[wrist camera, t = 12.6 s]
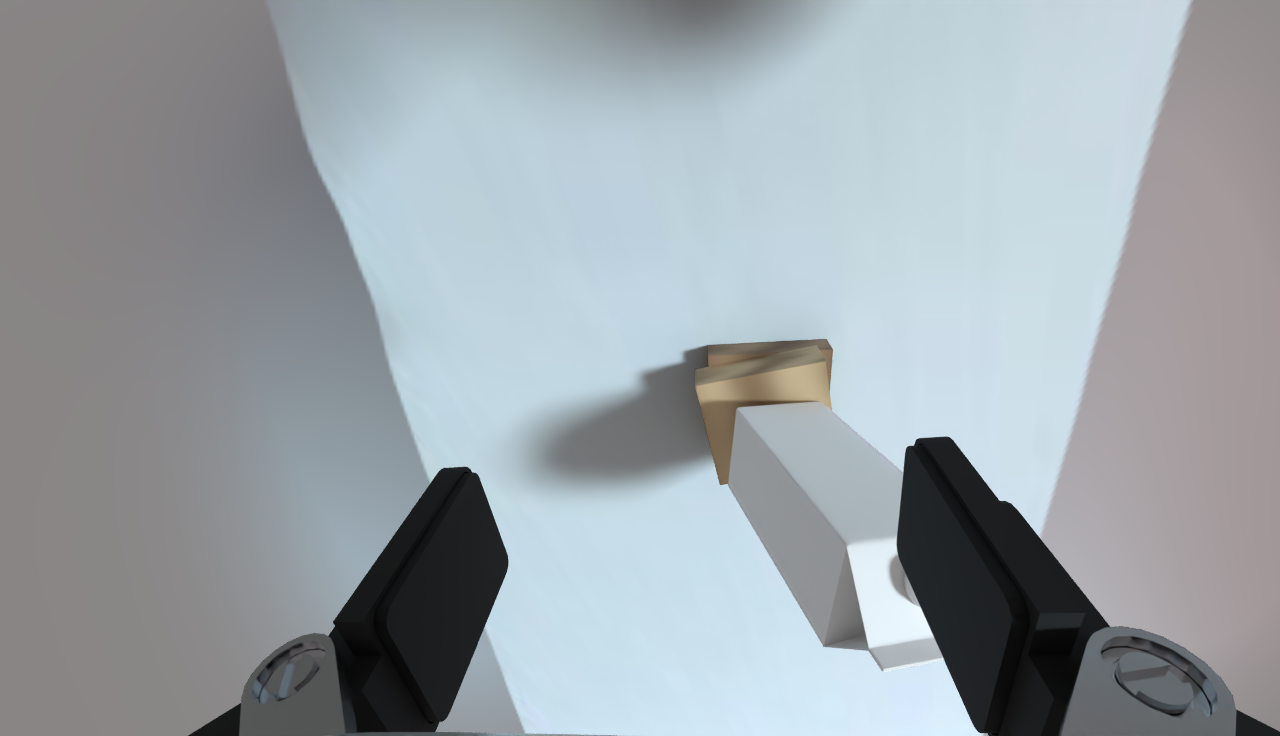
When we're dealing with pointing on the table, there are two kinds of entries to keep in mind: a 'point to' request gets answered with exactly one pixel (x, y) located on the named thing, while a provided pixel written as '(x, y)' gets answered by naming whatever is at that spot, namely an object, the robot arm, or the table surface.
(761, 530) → the milk carton
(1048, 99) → the table surface
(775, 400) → the top slab
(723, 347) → the bottom slab
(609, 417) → the table surface
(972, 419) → the table surface
